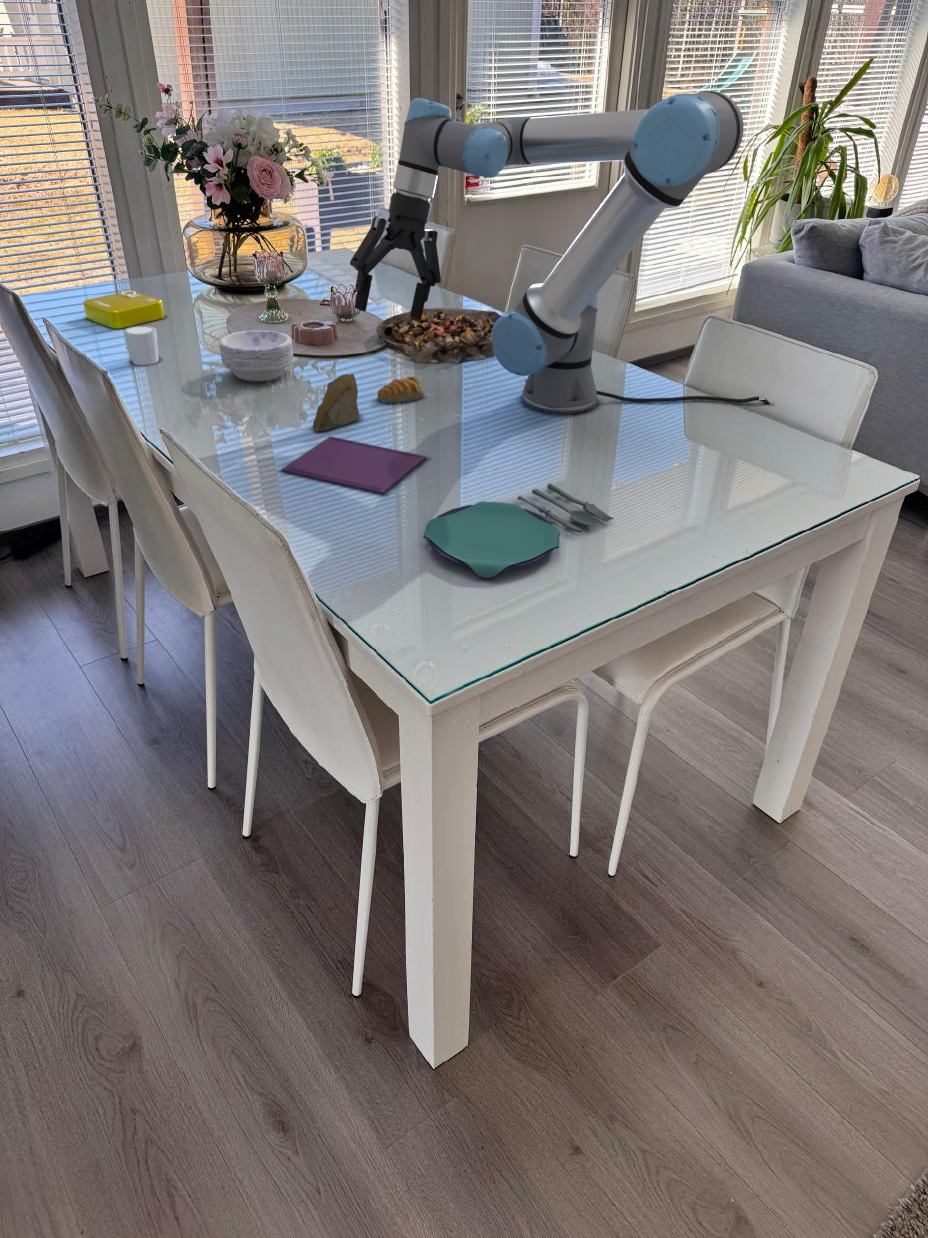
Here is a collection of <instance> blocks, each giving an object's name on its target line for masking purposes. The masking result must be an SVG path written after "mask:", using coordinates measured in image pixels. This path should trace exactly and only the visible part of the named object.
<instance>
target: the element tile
mask: <svg viewBox="0 0 928 1238" xmlns="http://www.w3.org/2000/svg"><path fill="white" fill-rule="evenodd" d="M82 304H83V307H84V313H85V317H86V319H87V320H88V321H92V322H94V323H97V324H99V325H102V326H105V327H108V328H111V329H115V330H116V329H117V330H119V329H126V328H130V327H135V326H139V325H141V324H146V323H151V322H155V321H159V320H162V319H164V318H165V316H166V315H165V310H164V304H163V300H162V299H160V298H157V297H153V296H150V295H147V294H144V293H141V292H140V291H139V292H138V291H135V290H125V291H121V292H117V293H112V294H107V295H102V296H97V297H93V298H88V299H85V300H83V302H82Z"/></svg>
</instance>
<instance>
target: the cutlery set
mask: <svg viewBox="0 0 928 1238" xmlns="http://www.w3.org/2000/svg"><path fill="white" fill-rule="evenodd" d="M546 487H547V490H549V491H552V492H554V493H555V494H557V495H559V496H560V497H562V498H564V499H565V500H567V501H569V502H571V503H572V504H576V505H578V506H581V507H582V509H583V510H584V511H581V510H575V509H573V510H570V509H569V508H568V507H566V506H564V505H563V504H561V503H560V502H559V501H557V500H556V499H554V498H553V497H551V496H549V495H548V494H546V493H544V492H543V491H541V490H540V489H538V488H534V489H531V494H533V495H535V496H536V497H539V498H541V499H543V500H545V501H546V502H549V503H552V505H554V506H556V507H558V508H560V509H561V510H563V511H564V512H566V513H567V514H569V518H570V519H571V520H572V521H574V523H576V524H579V525H582V526H589V527H594V526H596V525H599V524H600V523H599V521H598V519H600V520H602V521H604V522H609V521H612V520H615V518H614V517H612V516H610V515H609V514H607V513H605V512H604V511H603V510H602V509H600V508H598V507H597V506H596V504H595V503H589V502H588V501H585V502H584V501H583V500H580V499H578V498H575V497H574V496H572V495H571V494H569V493H567V492H565V491H564V490H562V489H561V488H560V487H558V486H556V485H554V483H551V482H550V483H548V484H547V486H546ZM520 500H521V501H522V502H524V503H527V504H529V505H530V506H532V507H533V508H536V509H537V510H538V511H539V513H540V514H538V513H536V512H534V511H532V510H529V509H527V508H523V507H521V506H520V505H518V504H516V503H512V502H502V501H484V500H483V501H479V502H476V503H474V504H468V505H464V506H460V507H455V508H451V509H449V510H447V511H445V512H443V513H441V514H438V515H437V516H436V517H434V518H431V519H429V521H427V523H426V526H425V529H424V532H423V535H422V537H423V538H424V539H427V542H428V545H429V547H430V548H431V549H432V550H433V551H434V552H435V554H437V555H438V556H440V557H441V558H444V559H445V560H447V561H449V562H451V563H453V564H456V565H460V566H463V567H467V568H471V570H473V571H474V572H475V574H476V575H478V576H480V577H481V578H484V579H490V578H493V577H496V576H497V575H498V574H500V572H502V571H504V570H514V569H521V568H523V567H528V566H531V565H534V564H536V563H539V562H541V561H543V560H544V559H546V558H547V557H549V556H551V554H552V553H553V551H554V550H555V549H559V548H560V541H561V540H560V539H561V538H560V537H561V531H560V529H559V528H558V527H557V526H555V525H554V524H553V523H552V522H550V520H547V519H546V518H547V517H549V518H551V519H552V520H553V521H555V522H556V523H558V524H560V525H562V526H563V527H565V528H567V529H569V530H571V531H573V532H575V533H583V529H581V528H579V527H577V526H576V525H573V523H571V522H568V521H566V520H565V519H563V518H561V517H559V516H557V515H556V514H554V513H552V509H551V508H550V509H548V508H547V507H545V506H539V505H538V504H536V503H534V502H532V501H529V500H528V499H526V498H525V497H523V496H522V495H518V496H517V501H520ZM541 514H544V516H542V515H541ZM597 518H598V519H597Z"/></svg>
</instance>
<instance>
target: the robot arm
mask: <svg viewBox="0 0 928 1238" xmlns="http://www.w3.org/2000/svg"><path fill="white" fill-rule="evenodd" d="M451 116H452V111H451V108H450V107H449V106H448V105H445V104H442V103H439V102H437V101H433V100H429V99H425V98H422V97H415V98H413V99H412V100H411V101H410V103H409V107H408V109H407V115H406V119H405V121H404V126H403V135H402V140H401V147H400V152H399V158H398V161H397V166H396V169H395V176H394V181H393V189H394V190H395V192H394V191H393V192H392V193H391V196H390V201H389V207H388V213H389V216H388V218H387V220H386V218H384V217H380V216H377V215H375V216H373V218H372V222H371V226H370V228H369V230H368V231H367V233H366V235H365V237H364V238H363V240H362V241H361V243H360V245H359V246H358V248H357V250H356V251H355V252H354V254H353V255H352V258H351V259H350V261H349V265H350V267H353V268H354V270H356V271H357V275H356V281H355V286H354V287H355V288H354V289H355V290H357V291H356V297H355V301H354V309H356V310H359V311H361V312H365V313H366V311H367V307H368V302H369V297H370V291H371V287H372V281H373V275H372V274H370V273H371V272H372V271H373V270H374V268H376V267H377V266H378V265H379V263H381V261H382V260H383V259H384V258H385V257H386V256H388V254H389V253H390V252H391V251H393V250H395V249H398V250H405V251H408V252H409V253H410V255H411V257H412V261H413V263H414V265H415V268H416V271H417V274H418V277H419V279H420V282H418V281H417V282H416V286H415V290H414V295H413V299H412V304H411V309H410V311H411V313H410V316H411V317H414V318H416V319H419V320H421V318H422V313H423V309H425V304H426V303H427V302H428V300H429V295H430V291H431V287H435V286H436V284H440V283H441V281H442V277H441V271H440V269H441V267H440V262H439V261H440V260H439V253H438V246H437V243H438V231H437V230H434V229H431V228H426V224H427V223H428V222H429V218H430V214H431V210H432V202H430V201H431V200H432V199H434V196H435V192H436V186H437V181H438V177H439V176H438V175H439V171H440V167H444V168H447V169H451V170H455V171H458V172H462V173H465V174H469V175H472V176H473V177H478V178H479V177H482V178H487V179H493V178H496V177H497V176H498V175H499V173H500V172H502V170H503V169H504V168H505V167H509V166H525V165H540V164H541V165H542V164H571V163H573V164H574V163H598V162H600V163H601V162H623V163H622V164H623V171H624V172H623V174H622V175H621V177H620V178H619V180H618V181H617V182H616V184H615V185H614V186H613V188H612V189H611V190H610V192H609V193H608V195H607V196H606V197H605V199H604V200H603V201H602V203H601V204H600V205H599V207H598V208H597V210H595V212H594V214H593V215H592V216H591V218H590V219H589V220H588V222H587V223H586V224H585V225H584V227H583V229H582V230H581V231H580V233H578V235H577V236H576V238H575V239H574V241H573V242H572V243H571V245H570V246H569V247H568V249H567V250H566V251H565V253H564V254H563V256H562V257H561V259H560V260H559V261H558V262H557V264H556V265H555V266H554V268H553V269H552V271H551V272H550V274H549V275H548V276H547V277H546V278H545V280H544V282H543V283H535V284H532V285H531V286H530V287H529V288H528V289H527V290H526V292H525V293H524V295H523V296H522V297H521V298H520V299H519V301H518V302H517V304H516V305H515V307H513V309H512V310H510V311H507V312H506V313H503V314H502V316H501V317H500V318H499V319H498V320H497V321H496V323H495V324H494V326H493V329H492V334H491V342H492V345H493V352H494V354H495V355H494V356H495V358H496V360H497V362H498V363H499V364H500V365H501V367H503V369H505V370H506V371H508V372H509V373H510V374H513V375H516V376H521V377H523V376H524V377H525V376H527V378H526V379H525V384H524V386H523V390H522V402H523V403H524V404H525V405H526V406H527V407H529V408H530V409H533V410H536V411H539V412H542V413H546V414H554V415H574V414H580V413H584V412H585V413H586V412H588V411H590V410H592V409H594V407H595V406H596V405H597V399H598V396H601V397H607V398H611V399H615V400H619V401H622V402H630V403H665V402H667V403H668V402H680V401H681V402H682V401H683V402H684V401H697V400H698V401H715V402H724V403H725V402H726V403H736V404H743V403H751V402H756V401H760V402H762V403H764V404H765V405H771V403H770V402H769V400H768V399H766V398H765V400H759V397H760V396H752V397H747V398H732V397H721V396H711V395H686V396H674V397H650V398H649V397H648V398H647V397H645V398H643V397H642V398H639V397H628V396H627V397H626V396H621V395H618V394H614V393H610V392H607V391H601V390H598V389H596V388H597V387H596V383H595V378H594V373H593V369H592V360H593V359H592V358H593V351H594V341H595V331H596V322H597V313H598V311H599V310H598V309H599V308H598V295H597V294H598V293H599V292H600V290H601V289H602V288H603V287H604V286H605V285H606V283H607V281H608V280H609V279H610V278H611V277H612V275H613V274H614V273H615V272H616V271H617V269H618V268H619V267H620V266H621V264H622V263H623V262H624V260H625V259H626V258H627V257H628V255H629V254H630V253H631V252H632V250H633V249H634V248H635V247H636V246H637V244H638V243H639V242H640V240H641V239H642V238H643V237H644V235H646V233H647V232H648V231H649V229H650V228H651V227H652V225H653V224H654V223H655V222H656V221H657V220H658V218H659V217H660V216H661V215H662V213H663V212H664V211H665V210H666V209H675V208H678V207H680V206H681V205H682V204H683V202H684V201H685V200H686V199H687V197H688V196H689V195H690V194H691V193H692V192H693V190H694V189H695V188H696V187H697V186H698V184H699V183H700V182H701V181H702V179H703V178H704V177H705V176H707V175H708V174H709V175H710V174H712V173H714V172H716V171H719V170H721V169H722V168H723V167H725V166H726V165H728V163H730V162H731V160H732V159H733V158H734V157H735V156H736V155H737V153H738V150H739V149H740V146H741V144H742V141H743V137H744V127H745V126H744V118H743V114H742V111H741V109H740V108H739V106H738V104H737V103H736V102H735V100H733V99H732V98H731V97H730V96H728V95H726V94H725V93H722V92H719V91H715V90H714V91H713V90H708V91H701V92H695V93H677V94H674V95H670V96H667V97H666V98H664V99H662V100H660V101H659V102H657V103H655V104H654V105H653V106H652V107H650V108H647V109H646V108H645V109H632V110H631V109H630V110H618V111H617V110H616V111H603V112H589V113H574V114H561V115H546V116H534V117H517V116H515V117H508V118H506V119H500V120H495V121H487V122H486V121H485V122H479V123H467V122H463V121H458V120H454V119H452V117H451ZM385 231H386V234H385V235H384V236H383V234H384V232H385ZM421 241H423V244H422V242H421Z"/></svg>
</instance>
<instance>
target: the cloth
mask: <svg viewBox="0 0 928 1238" xmlns="http://www.w3.org/2000/svg"><path fill="white" fill-rule="evenodd" d="M426 460H427V456H426V455H421V454H417V453H411V452H407V451H401V450H396V449H392V448H388V447H383V446H377V445H374V444H368V443H364V442H358V441H354V440H349V439H344V438H339V437H334V436H329V437H327V438H325V440H323V441H321V442H320V443H318V444H316V446H314V447H313V448H311V449H309V450H308V451H307V452H305V453H303V454H302V455H301V456H299V457H298V458H296V459H295V460H293V461H292V462H290V463H289V464H287V465H286V466H285V467H283V468H282V469H281V472H282V473H287V474H291V475H294V476H299V477H303V478H308V479H314V480H317V481H321V482H326V483H331V484H334V485H339V486H344V487H347V488H352V489H357V490H361V491H366V492H368V493H369V492H370V493H374V494H379V495H385V494H387V493H388V492H389V491H390V490H391V489H392V488H393V487H395V486H396V485H397V484H398V483H399V482H401V481H402V480H403V479H404V478H406V476H408V475H409V474H410V473H411V472H412V471H413V470H415V469H416V468H417V467H418V466H419V465H421V464H422V463H423V462H424V461H426Z"/></svg>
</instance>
